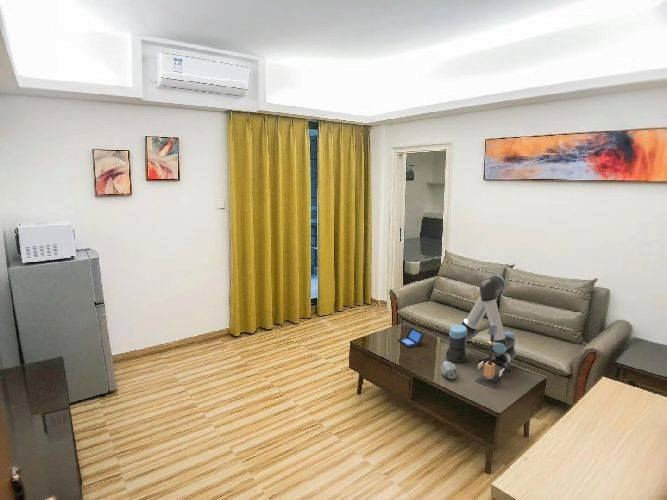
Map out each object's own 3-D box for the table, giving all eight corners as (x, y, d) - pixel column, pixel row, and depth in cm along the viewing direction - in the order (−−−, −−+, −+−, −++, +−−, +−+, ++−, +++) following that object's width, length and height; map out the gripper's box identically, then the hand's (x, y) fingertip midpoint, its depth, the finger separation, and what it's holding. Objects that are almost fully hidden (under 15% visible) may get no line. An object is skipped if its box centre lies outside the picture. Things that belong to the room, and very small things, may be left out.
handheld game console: (397, 340, 321) (397, 329, 320) (411, 337, 327) (411, 326, 325) (409, 348, 308) (409, 337, 306) (423, 345, 313) (424, 334, 312)
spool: (461, 376, 259) (453, 362, 260) (447, 383, 260) (440, 368, 261) (457, 371, 273) (450, 357, 274) (444, 377, 274) (437, 363, 275)
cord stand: (475, 381, 260) (479, 323, 253) (483, 374, 269) (488, 318, 261) (493, 388, 252) (499, 328, 244) (501, 381, 261) (507, 323, 253)
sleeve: (483, 375, 260) (484, 363, 258) (486, 372, 263) (487, 361, 262) (491, 378, 256) (492, 366, 255) (494, 375, 260) (495, 363, 258)
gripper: (521, 370, 265) (508, 383, 249) (483, 358, 281) (469, 369, 266) (522, 360, 263) (509, 371, 248) (484, 348, 280) (470, 358, 265)
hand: (488, 370), depth 257 cm, fingers open, 13 cm apart
